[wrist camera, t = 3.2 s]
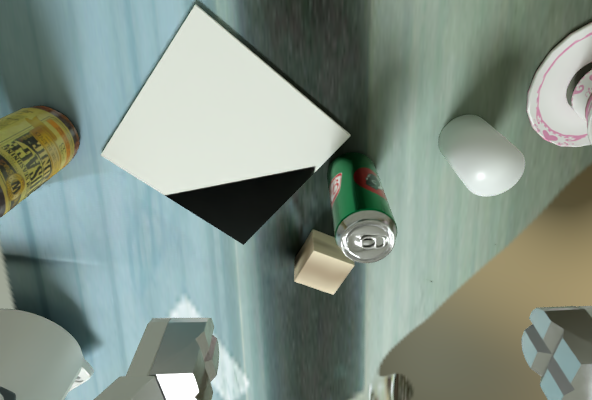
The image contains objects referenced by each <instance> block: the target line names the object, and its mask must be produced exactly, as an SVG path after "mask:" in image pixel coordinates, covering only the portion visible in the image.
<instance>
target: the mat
mask: <svg viewBox="0 0 592 400" xmlns="http://www.w3.org/2000/svg"><path fill="white" fill-rule="evenodd" d="M350 136H351V135H350V134H349V133H348V132H347V131H346V130H345V129H343V128H342V127H341V126H340V125H339V124H338V123H336V122H335V121H334V120H333V119H332V118H330V117H329V116H328V115H327V114H326V113H324V112H323V111H322V110H321V109H320V108H319V107H317V106H316V105H315V104H314V103H313V102H311V101H310V100H309V99H308V98H307V97H306V96H304V95H303V94H302V93H301V92H300V91H298V90H297V89H296V88H295V87H294V86H293V85H291V84H290V83H289V82H288V81H287V80H285V79H284V78H283V77H282V76H281V75H280V74H278V73H277V72H276V71H275V70H274V69H272V68H271V67H270V66H269V65H268V64H266V63H265V62H264V61H263V60H262V59H261V58H259V57H258V56H257V55H256V54H255V53H253V52H252V51H251V50H250V49H249V48H248V47H246V46H245V45H244V44H243V43H242V42H240V41H239V40H238V39H237V38H236V37H235V36H233V35H232V34H231V33H230V32H229V31H227V30H226V29H225V28H224V27H223V26H222V25H220V24H219V23H218V22H217V21H216V20H214V19H213V18H212V17H211V16H210V15H208V14H207V13H206V12H205V11H204V10H203V9H201V8H200V7H199V6H198V5H197V4H195V6H194V7H193V9H192V10H191V12H190V14H189V15H188V17H187V18H186V20H185V21H184V23H183V25H182V26H181V28H180V29H179V31H178V33H177V34H176V36H175V37H174V39H173V41H172V42H171V44H170V45H169V47H168V49H167V50H166V52H165V53H164V55H163V57H162V58H161V60H160V61H159V63H158V64H157V66H156V68H155V69H154V71H153V72H152V74H151V76H150V77H149V79H148V80H147V82H146V84H145V85H144V87H143V88H142V90H141V92H140V93H139V95H138V96H137V98H136V100H135V101H134V103H133V104H132V106H131V107H130V109H129V111H128V112H127V114H126V115H125V117H124V119H123V120H122V122H121V123H120V125H119V127H118V128H117V130H116V131H115V133H114V135H113V136H112V138H111V139H110V141H109V143H108V144H107V146H106V147H105V149H104V150H103V152H102V154H101V156H103V157H104V158H106V159H108V160H109V161H111V162H112V163H114V164H116V165H117V166H119V167H120V168H122V169H123V170H125V171H127V172H128V173H130V174H131V175H133V176H135V177H136V178H138V179H139V180H141V181H143V182H144V183H146V184H147V185H149V186H151V187H152V188H154V189H155V190H157V191H159V192H160V193H162V194H163V195H165V196H167V197H168V198H170V199H171V200H173V201H175V202H176V203H178V204H179V205H181V206H183V207H184V208H186V209H187V210H189V211H190V212H192V213H194V214H195V215H197V216H198V217H200V218H202V219H203V220H205V221H206V222H208V223H210V224H211V225H213V226H214V227H216V228H218V229H219V230H221V231H222V232H224V233H226V234H227V235H229V236H230V237H232V238H234V239H235V240H237V241H238V242H240V243H242V244H243V245H244V244H245V243H246V242H247V241H248V240H249V239H250V238H251V237H252V236H253V235H254V234H255V233H256V232H257V231H258V230H259V228H260V227H261V226H262V225H263V224H264V223H265V222H266V221H267V220H268V219H269V218H270V217H271V216H272V215H273V214H274V213H275V212H276V211H277V210H278V209H279V208H280V207H281V206H282V205H283V204H284V203H285V202H286V201H287V200H288V199H289V198H290V197H291V196H292V195H293V194H294V193H295V192H296V191H297V190H298V189H299V188H300V187H301V186H302V185H303V184H304V183H305V182H306V181H307V180H308V179H309V178H310V177H311V176H312V175H313V174H314V173H315V172H316V171H317V170H318V169H319V168H320V166H321V165H322V164H323V163H324V162H325V161H326V160H327V159H328V158H329V157H330V156H331V155H332V154H333V153H334V152H335V151H336V150H337V149H338V148H339V147H340V146H341V145H342V144H343V143H344V142H345V141H346V140H347V139H348V138H349V137H350Z"/></svg>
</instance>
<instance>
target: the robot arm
mask: <svg viewBox="0 0 592 400" xmlns="http://www.w3.org/2000/svg"><path fill="white" fill-rule="evenodd" d="M529 319H530V320H531V322H532V323H533V325H531V326H529V327H528V328H527V329H525V330H524V333H523V336H522V350H523V353H524V356H525V359H526V361H527V363H528V365H529V367H530V368H531V369H532V370H533V371H535V372H536V373H538V374H539V375H540V376H542V377H541V382H540V386H541V388H542V390H543V391H544V393H545V395H546V397H547V399H548V400H592V306H579V307H576V306H567V307H544V308H536V309H534V310H533V311H532V313H531V315H530V318H529ZM213 329H214V325H213V322H212V318H152V320H151V321H150V322H149V323H148V324H147V327H146V329H145V332H144V334H143V336H142V339H141V341H140V343H139V346H138V348H137V351H136V353H135V355H134V358H133V360H132V362H131V365H130V367H129V370H128V372H127V374H126V376H121V377H119V378H118V379H116V380H115V381H114V382H113V383H112V384H111V385H110V386H109V387H107V388H106V389H105V390H104V391H103V392H102V393H101V394H100V395H98V396H97V397H96V398H95V399H94V400H212V395H213V390H212V387H211V383H210V382H211V381H212V380H213V379H214V378H215V376H216V375H217V370H218V363H219V346H218V341H217V338H216V337H215V336H213V335H212V334H213ZM93 373H94V369H93V368H92V367H91V365H90V364H89V363H88V362H87V361H86V360H85V359H84V357H83V354H82V351H81V348H80V346H79V344H78V343H77V341H76V340H75V339H74V337H73V336H72V335H71V334H70V333H69V332H67V331H66V330H65V329H64V328H62V327H61V326H59V325H58V324H56V323H54V322H52V321H50V320H48V319H46V318H44V317H41V316H39V315H36V314H33V313H29V312H25V311H21V310H14V309H0V400H64V399H65V397H66V396H67V394H68V392H69V391H71V390H73V389H74V388H76V387H77V386H79V385H81V384H82V383H84V382H86V381H87V380H89V379H90V378H91V376H92V375H93Z"/></svg>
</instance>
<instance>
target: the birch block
mask: <svg viewBox="0 0 592 400" xmlns="http://www.w3.org/2000/svg"><path fill="white" fill-rule="evenodd" d="M353 267H354V261H353V260H351V259H349V258H348V257H347V256H346V255H345V254H344V253H343V251H342V250H341V249H340V248H339V247H338V245H337V243H336V241H335V237H332V236H329V235H327V234H324V233H322V232H319V231H316V230H314V229H312V231H311V233H310V234H309V236H308V238H307V239H306V241H305V243H304V244H303V246H302V248H301V249H300V251H299V253H298V254H297V256H296V258H295V272H294V281H295V282H298V283H301V284H303V285H306V286H309V287H312V288H315V289H318V290H321V291H324V292H327V293H330V294H334V293H335V292H336V290H337V289H338V287H339V286H340V285H341V283H342V282H343V281H344V279H345V278H346V276H347V275H348V274H349V272H350V271H351V269H352V268H353Z"/></svg>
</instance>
